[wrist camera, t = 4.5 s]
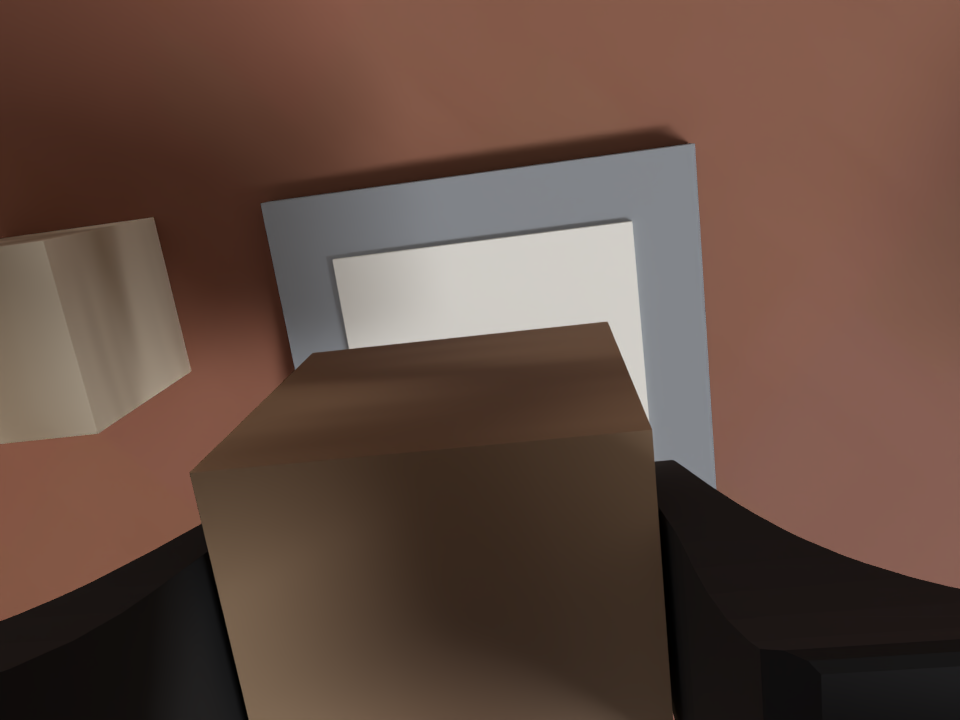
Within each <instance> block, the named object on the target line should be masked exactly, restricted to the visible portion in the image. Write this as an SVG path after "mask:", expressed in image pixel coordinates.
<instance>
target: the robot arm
mask: <svg viewBox="0 0 960 720" xmlns="http://www.w3.org/2000/svg"><path fill="white" fill-rule="evenodd" d="M655 475H656V489H657V503H658V517H659V531H660V544H661V558H662V572H663V586H664V600H665V614H666V628H667V642H668V656H669V670H670V684H671V698H672V711H673V715H674V718H675V720H960V589H958V588H953V587H948V586H944V585H940V584H936V583H932V582H928V581H924V580H920V579H916V578H912V577H908V576H905V575H902V574H899V573H895V572H892V571H889V570H886V569H882V568H879V567H876V566H872V565H869V564H866V563H863V562H860V561H857V560H854V559H852V558H849V557H846V556H843V555H841V554H838V553H836V552H833V551H831V550H829V549H826V548H824V547H821V546H819V545H817V544H814V543H812V542H809V541H807V540H805V539H802V538H800V537H798V536H796V535H794V534H792V533H790V532H788V531H786V530H784V529H782V528H780V527H778V526H776V525H774V524H772V523H771V522H769V521H767V520H765V519H763V518H761V517H760V516H758V515H756V514H754V513H752V512H751V511H749V510H747V509H746V508H744V507H742V506H741V505H739V504H737V503H736V502H734V501H733V500H731V499H730V498H728V497H727V496H725V495H723V494H722V493H720V492H719V491H717V490H716V489H715V488H713V487H712V486H710V485H709V484H707V483H706V482H704V481H703V480H702V479H700V478H699V477H697V476H696V475H695V474H693V473H692V472H690V471H689V470H688V469H686V468H685V467H683V466H682V465H681V464H679V463H678V462H676V461H674V460H666V461H655ZM0 720H249V718H248V714H247V710H246V706H245V702H244V698H243V693H242V689H241V685H240V681H239V677H238V673H237V668H236V664H235V660H234V656H233V652H232V648H231V643H230V639H229V635H228V631H227V627H226V623H225V618H224V614H223V610H222V606H221V602H220V598H219V594H218V589H217V585H216V581H215V577H214V573H213V569H212V564H211V560H210V556H209V552H208V548H207V544H206V539H205V535H204V531H203V527H202V524H200V525H199V526H197V527H195V528H193V529H191V530H190V531H188V532H186V533H184V534H182V535H180V536H179V537H177V538H175V539H173V540H171V541H170V542H168V543H166V544H164V545H162V546H160V547H159V548H157V549H155V550H153V551H151V552H149V553H147V554H145V555H144V556H142V557H140V558H138V559H136V560H134V561H132V562H130V563H128V564H126V565H124V566H122V567H120V568H118V569H116V570H114V571H112V572H111V573H109V574H107V575H105V576H103V577H101V578H99V579H97V580H95V581H93V582H91V583H89V584H87V585H85V586H83V587H80V588H78V589H76V590H74V591H72V592H70V593H67V594H65V595H63V596H61V597H58V598H56V599H54V600H51V601H49V602H47V603H44V604H42V605H40V606H37V607H35V608H32V609H30V610H28V611H25V612H23V613H21V614H18V615H16V616H13V617H10V618H8V619H5V620H3V621H0Z"/></svg>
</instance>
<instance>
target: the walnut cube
mask: <svg viewBox="0 0 960 720" xmlns="http://www.w3.org/2000/svg"><path fill="white" fill-rule="evenodd" d="M190 477H191V481H192V485H193V489H194V494H195V498H196V502H197V506H198V510H199V514H200V519H201V523H202V527H203V531H204V535H205V539H206V544H207V548H208V552H209V556H210V560H211V564H212V569H213V573H214V577H215V581H216V585H217V589H218V594H219V598H220V602H221V606H222V610H223V614H224V618H225V623H226V627H227V631H228V635H229V639H230V643H231V648H232V652H233V656H234V660H235V664H236V668H237V673H238V677H239V681H240V685H241V689H242V693H243V698H244V702H245V706H246V710H247V714H248V718H249V720H673V712H672V698H671V684H670V670H669V656H668V642H667V628H666V614H665V600H664V586H663V572H662V558H661V544H660V531H659V517H658V503H657V489H656V475H655V461H654V447H653V433H652V428H651V425H650V423H649V421H648V418H647V416H646V413H645V411H644V408H643V406H642V404H641V401H640V399H639V396H638V394H637V391H636V389H635V387H634V384H633V382H632V379H631V377H630V375H629V372H628V370H627V367H626V365H625V362H624V360H623V358H622V355H621V353H620V350H619V348H618V345H617V343H616V341H615V338H614V336H613V333H612V331H611V329H610V326H609V324H608V321H607V322H597V323H588V324H579V325H569V326H560V327H551V328H541V329H532V330H522V331H513V332H504V333H494V334H485V335H476V336H466V337H457V338H447V339H438V340H429V341H419V342H410V343H401V344H391V345H382V346H372V347H363V348H354V349H344V350H335V351H326V352H316V353H312V354H311V355H310V356H309V357H308V358H307V359H306V360H305V361H304V362H303V363H302V364H301V365H300V366H299V367H298V368H296V369H295V370H294V371H293V372H292V373H291V374H290V375H289V376H288V377H287V378H286V379H285V380H284V381H283V382H282V383H281V384H280V385H279V386H278V387H277V388H276V389H275V390H274V391H273V392H272V393H271V394H270V395H269V396H268V397H267V398H266V399H265V400H264V401H263V402H262V403H261V404H260V405H259V406H258V407H256V408H255V409H254V410H253V411H252V412H251V413H250V414H249V415H248V416H247V417H246V418H245V419H244V420H243V421H242V422H241V423H240V424H239V425H238V426H237V427H236V428H235V429H234V430H233V431H232V432H231V433H230V434H229V435H228V436H227V437H226V438H225V439H224V440H223V441H222V442H221V443H220V444H219V445H218V446H217V447H215V448H214V449H213V450H212V451H211V452H210V453H209V454H208V455H207V456H206V457H205V458H204V459H203V460H202V461H201V462H200V463H199V464H198V465H197V466H196V467H195V468H194V469H193V470H192V471H191V472H190Z"/></svg>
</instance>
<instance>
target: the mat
mask: <svg viewBox="0 0 960 720" xmlns="http://www.w3.org/2000/svg"><path fill="white" fill-rule="evenodd" d="M261 208H262V213H263V218H264V223H265V228H266V232H267V237H268V242H269V247H270V252H271V257H272V261H273V266H274V271H275V276H276V281H277V285H278V290H279V295H280V300H281V305H282V309H283V314H284V319H285V324H286V329H287V333H288V338H289V343H290V348H291V353H292V357H293V362H294V367H295V369H296V368H298V367H299V366H300V365H301V364H302V363H303V362H304V361H305V360H306V359H307V358H308V357H309V356H310V355H311V354H312V353H316V352H326V351H335V350H344V349H354V348H363V347H372V346H382V345H391V344H401V343H410V342H419V341H429V340H438V339H447V338H457V337H466V336H476V335H485V334H494V333H504V332H513V331H522V330H532V329H541V328H551V327H560V326H569V325H579V324H588V323H597V322H607V321H608V324H609V326H610V329H611V331H612V333H613V336H614V338H615V341H616V343H617V345H618V348H619V350H620V353H621V355H622V358H623V360H624V362H625V365H626V367H627V370H628V372H629V375H630V377H631V379H632V382H633V384H634V387H635V389H636V391H637V394H638V396H639V399H640V401H641V404H642V406H643V408H644V411H645V413H646V416H647V418H648V421H649V423H650V425H651V428H652V433H653V447H654V461H666V460H674V461H676V462H678V463H679V464H681V465H682V466H683V467H685V468H686V469H688V470H689V471H690V472H692V473H693V474H695V475H696V476H697V477H699V478H700V479H702V480H703V481H704V482H706V483H707V484H709V485H710V486H712V487H713V488H715V489H716V478H715V462H714V446H713V430H712V413H711V397H710V381H709V365H708V349H707V333H706V317H705V300H704V284H703V268H702V252H701V236H700V220H699V204H698V187H697V171H696V155H695V144H692V143H689V144H682V145H675V146H667V147H660V148H653V149H646V150H638V151H631V152H624V153H617V154H609V155H602V156H595V157H588V158H580V159H573V160H566V161H559V162H551V163H544V164H537V165H530V166H522V167H515V168H508V169H501V170H493V171H486V172H479V173H472V174H464V175H457V176H450V177H442V178H435V179H428V180H421V181H413V182H406V183H399V184H392V185H384V186H377V187H370V188H363V189H355V190H348V191H341V192H334V193H326V194H319V195H312V196H305V197H297V198H290V199H283V200H276V201H269V202H265V203H261Z"/></svg>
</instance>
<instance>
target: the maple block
mask: <svg viewBox="0 0 960 720" xmlns="http://www.w3.org/2000/svg"><path fill="white" fill-rule="evenodd" d="M190 372H191V367H190V363H189V359H188V355H187V351H186V347H185V343H184V339H183V335H182V331H181V327H180V323H179V318H178V314H177V310H176V306H175V302H174V298H173V294H172V290H171V286H170V282H169V278H168V274H167V270H166V265H165V261H164V257H163V253H162V249H161V245H160V241H159V237H158V233H157V229H156V225H155V221H154V217H151V218H144V219H137V220H130V221H123V222H115V223H108V224H101V225H94V226H87V227H79V228H72V229H65V230H58V231H50V232H43V233H36V234H29V235H22V236H14V237H7V238H1V239H0V444H4V443H14V442H23V441H33V440H42V439H51V438H61V437H70V436H80V435H89V434H98V433H100V432H101V431H103V430H104V429H106V428H107V427H109V426H110V425H112V424H113V423H115V422H116V421H118V420H119V419H121V418H122V417H124V416H125V415H127V414H128V413H130V412H131V411H133V410H134V409H136V408H137V407H139V406H140V405H142V404H143V403H145V402H146V401H148V400H149V399H151V398H152V397H154V396H155V395H157V394H158V393H160V392H161V391H163V390H164V389H166V388H167V387H169V386H170V385H172V384H173V383H175V382H176V381H178V380H179V379H181V378H182V377H184V376H185V375H187V374H188V373H190Z"/></svg>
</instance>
